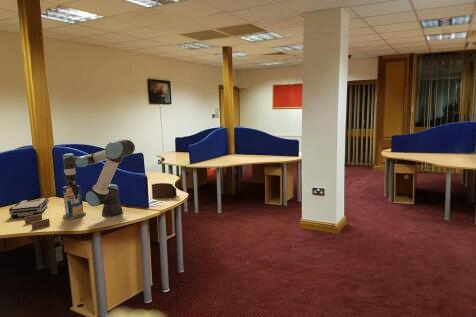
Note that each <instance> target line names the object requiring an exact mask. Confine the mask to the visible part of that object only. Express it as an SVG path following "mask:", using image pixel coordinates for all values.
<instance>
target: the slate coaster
mask: <svg viewBox="0 0 476 317" xmlns="http://www.w3.org/2000/svg"><path fill="white" fill-rule="evenodd" d="M83 212H84V214H80V215H75V216H71V217H68V216H66V213H65V214H63V215H62V219H64V220H73V219H74V220H76V219H80V218H83V217H85V216H86V215H87V213H86V212H85V211H83Z"/></svg>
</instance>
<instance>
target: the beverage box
mask: <svg viewBox="0 0 476 317" xmlns="http://www.w3.org/2000/svg"><path fill="white" fill-rule="evenodd" d="M76 185H77V188H78V192H79V194H78V203H74V195H73V194H74V193H73V190H72V187H70V186H66V185H65V186H63V187H62V190H63V193H62V194H63V200H64V211H65V214H66V216H68V217H71V216H75V215H80V214H84V212H85V211H84V204H83V194H82V185H79V184H76Z"/></svg>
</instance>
